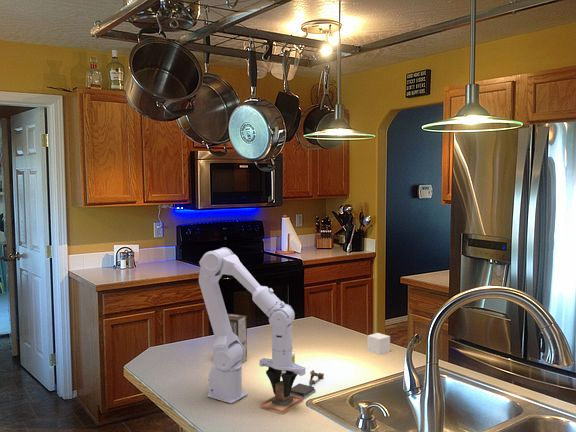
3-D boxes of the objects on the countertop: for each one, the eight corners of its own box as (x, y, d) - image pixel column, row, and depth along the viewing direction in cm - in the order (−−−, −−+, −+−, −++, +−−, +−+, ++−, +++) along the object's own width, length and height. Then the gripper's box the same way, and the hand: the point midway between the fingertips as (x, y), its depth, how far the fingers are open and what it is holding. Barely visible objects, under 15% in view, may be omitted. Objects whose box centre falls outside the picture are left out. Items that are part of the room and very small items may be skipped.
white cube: (377, 348, 208) (377, 332, 208) (389, 351, 204) (390, 336, 203) (367, 351, 204) (367, 335, 204) (379, 355, 200) (379, 339, 199)
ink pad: (287, 394, 163) (287, 389, 163) (298, 387, 168) (298, 382, 168) (304, 399, 160) (304, 394, 160) (315, 391, 165) (315, 386, 165)
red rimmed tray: (259, 407, 154) (259, 404, 154) (280, 394, 163) (280, 392, 163) (283, 414, 149) (283, 411, 149) (303, 401, 158) (303, 398, 158)
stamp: (271, 403, 156) (271, 384, 155) (280, 397, 159) (280, 379, 159) (284, 406, 153) (284, 387, 153) (293, 401, 157) (293, 382, 156)
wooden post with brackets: (306, 383, 169) (308, 369, 171) (316, 386, 176) (319, 372, 177) (311, 385, 168) (314, 370, 170) (321, 387, 175) (324, 373, 176)
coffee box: (247, 360, 193) (247, 315, 192) (238, 365, 188) (238, 319, 186) (225, 356, 197) (225, 312, 196) (216, 361, 191) (216, 316, 190)
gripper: (311, 349, 154) (310, 395, 155) (269, 340, 162) (269, 384, 163) (298, 355, 148) (297, 404, 149) (255, 346, 156) (255, 392, 157)
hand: (281, 394), depth 156 cm, fingers closed on stamp, 3 cm apart
